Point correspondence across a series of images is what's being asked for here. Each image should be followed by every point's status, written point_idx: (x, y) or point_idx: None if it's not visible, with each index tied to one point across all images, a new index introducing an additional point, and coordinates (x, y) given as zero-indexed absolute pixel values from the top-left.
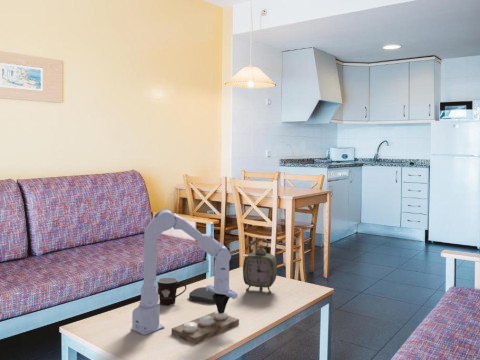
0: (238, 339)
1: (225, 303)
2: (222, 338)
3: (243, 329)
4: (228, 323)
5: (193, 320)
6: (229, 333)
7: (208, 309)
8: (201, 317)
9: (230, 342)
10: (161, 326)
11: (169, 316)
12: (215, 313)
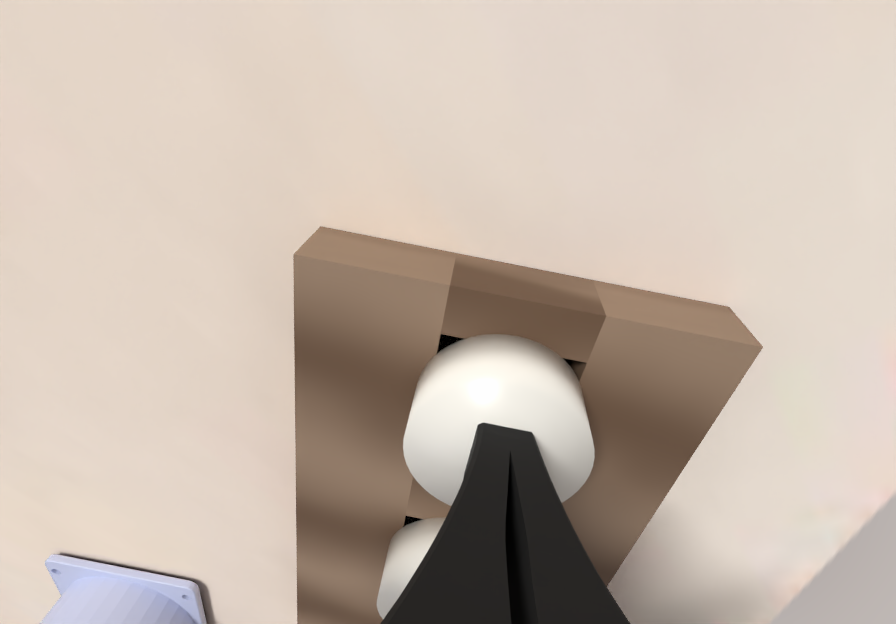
0: (815, 558)
1: (570, 579)
2: (668, 578)
3: (825, 395)
4: (661, 489)
5: (304, 545)
6: (694, 506)
7: (37, 48)
8: (386, 609)
9: (756, 603)
10: (182, 595)
11: (14, 440)
12: (445, 500)
